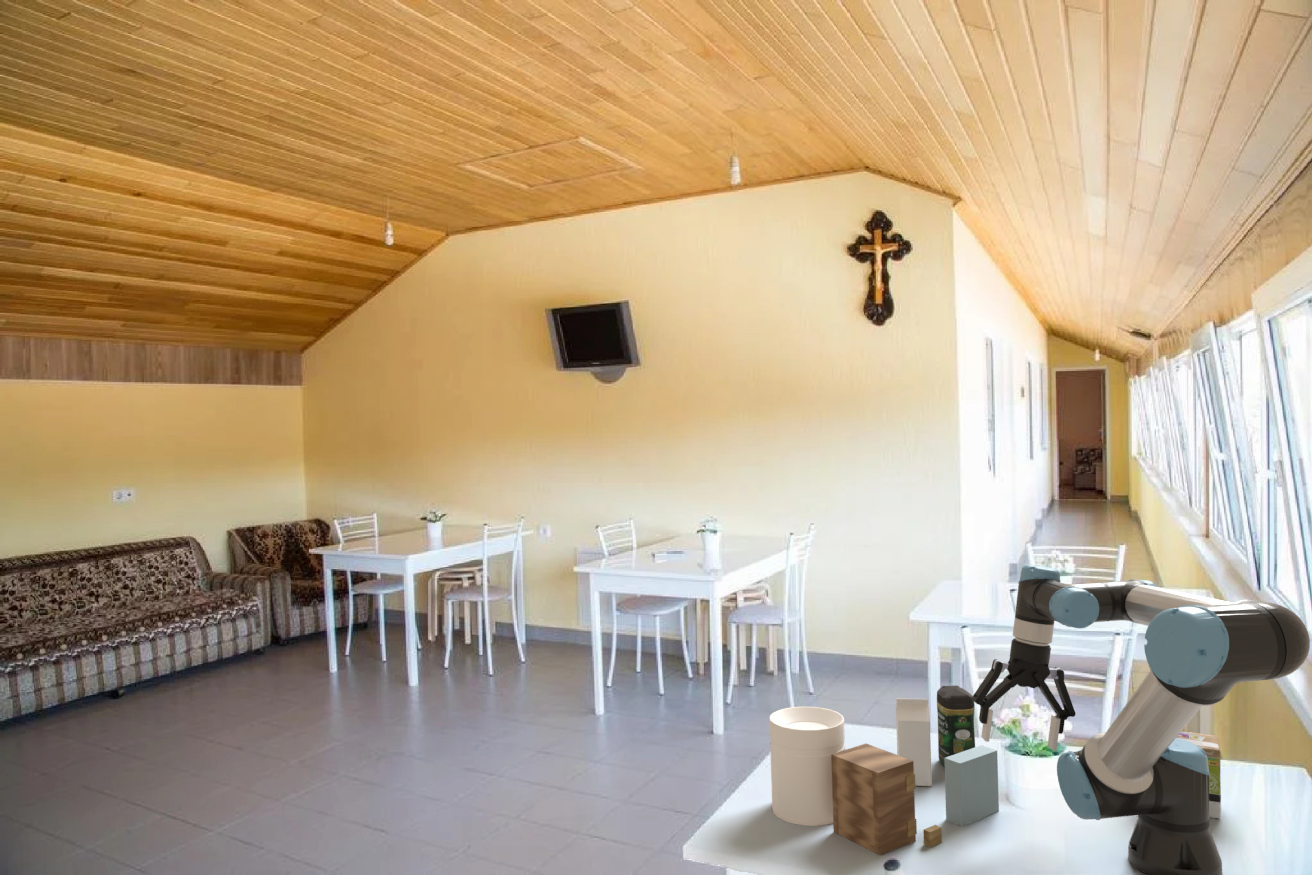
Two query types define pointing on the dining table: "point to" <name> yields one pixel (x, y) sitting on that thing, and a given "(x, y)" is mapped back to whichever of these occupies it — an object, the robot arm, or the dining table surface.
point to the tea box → (1213, 754)
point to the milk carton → (915, 737)
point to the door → (971, 785)
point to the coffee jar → (954, 721)
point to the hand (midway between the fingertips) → (1018, 744)
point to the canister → (804, 763)
